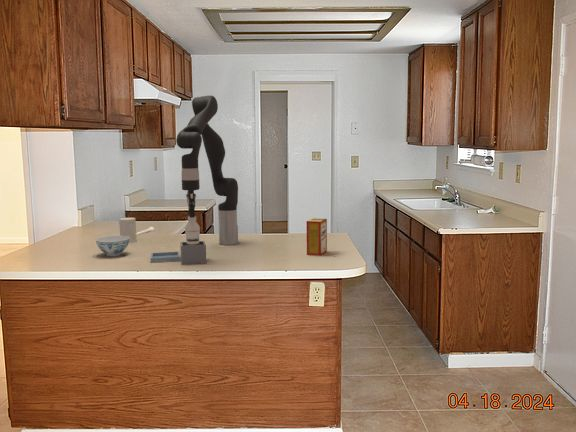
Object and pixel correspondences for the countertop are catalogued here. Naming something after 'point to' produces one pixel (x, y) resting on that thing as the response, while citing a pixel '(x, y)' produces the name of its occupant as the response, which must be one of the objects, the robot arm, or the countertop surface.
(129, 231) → the cup
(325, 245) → the baking soda box
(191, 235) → the plastic bottle
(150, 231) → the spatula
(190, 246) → the holder
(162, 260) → the tray
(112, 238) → the chinaware
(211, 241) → the countertop surface
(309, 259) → the countertop surface
